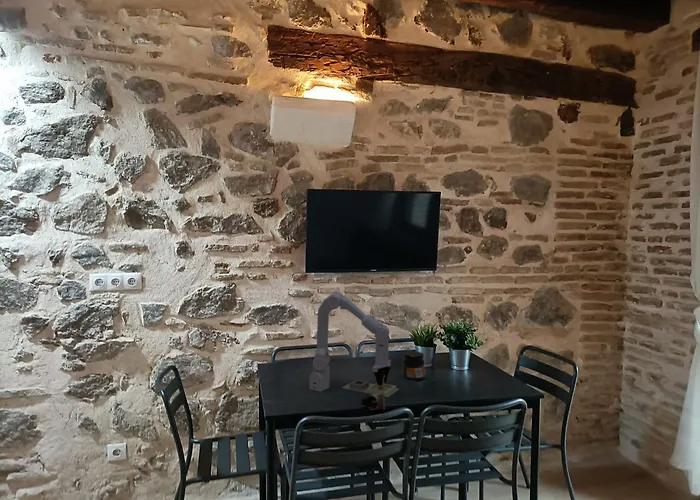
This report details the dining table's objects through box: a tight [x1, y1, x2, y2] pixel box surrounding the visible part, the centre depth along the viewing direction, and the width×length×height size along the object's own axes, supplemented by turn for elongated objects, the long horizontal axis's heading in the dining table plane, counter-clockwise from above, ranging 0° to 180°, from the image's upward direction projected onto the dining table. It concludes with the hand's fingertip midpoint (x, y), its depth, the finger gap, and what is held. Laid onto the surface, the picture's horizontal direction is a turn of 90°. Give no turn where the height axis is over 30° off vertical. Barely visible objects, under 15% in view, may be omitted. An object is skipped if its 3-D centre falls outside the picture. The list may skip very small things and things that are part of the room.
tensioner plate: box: [341, 379, 400, 398], centre depth 227 cm, size 12×23×1 cm, turn 60°
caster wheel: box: [361, 392, 386, 411], centre depth 207 cm, size 7×11×10 cm
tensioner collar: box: [348, 379, 370, 389], centre depth 231 cm, size 7×7×1 cm
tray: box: [367, 382, 397, 397], centre depth 225 cm, size 10×9×1 cm
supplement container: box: [402, 350, 425, 382], centre depth 244 cm, size 10×10×12 cm
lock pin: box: [377, 374, 385, 389], centre depth 225 cm, size 3×3×6 cm
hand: (381, 383), depth 224 cm, fingers closed on lock pin, 3 cm apart
